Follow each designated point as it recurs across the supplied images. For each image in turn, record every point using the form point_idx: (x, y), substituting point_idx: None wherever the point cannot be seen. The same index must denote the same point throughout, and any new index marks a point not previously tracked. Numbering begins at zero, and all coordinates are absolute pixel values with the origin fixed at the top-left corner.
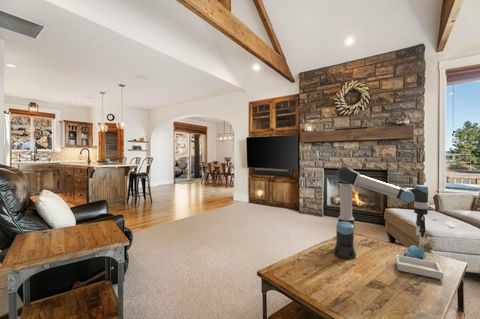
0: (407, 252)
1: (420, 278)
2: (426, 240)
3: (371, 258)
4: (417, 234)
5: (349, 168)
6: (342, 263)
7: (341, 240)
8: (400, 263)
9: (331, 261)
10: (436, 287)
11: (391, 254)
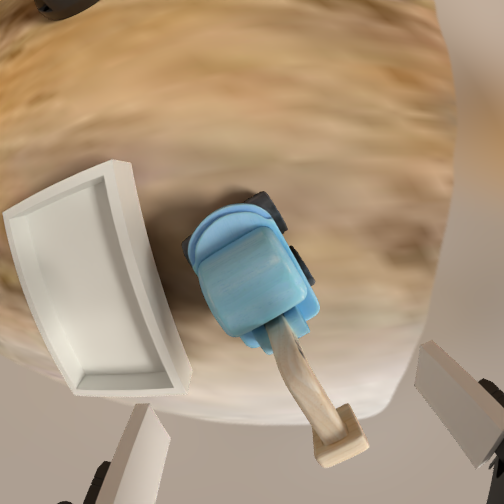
0: (206, 228)
1: None
2: (314, 427)
3: (108, 50)
4: (424, 359)
5: None
6: (13, 31)
7: None
8: (75, 204)
9: (17, 8)
10: (37, 344)
11: (268, 112)
